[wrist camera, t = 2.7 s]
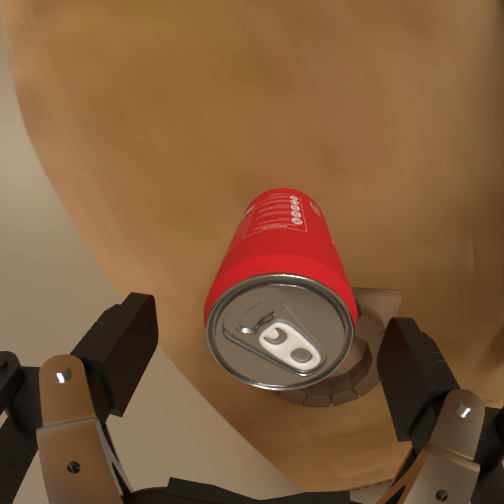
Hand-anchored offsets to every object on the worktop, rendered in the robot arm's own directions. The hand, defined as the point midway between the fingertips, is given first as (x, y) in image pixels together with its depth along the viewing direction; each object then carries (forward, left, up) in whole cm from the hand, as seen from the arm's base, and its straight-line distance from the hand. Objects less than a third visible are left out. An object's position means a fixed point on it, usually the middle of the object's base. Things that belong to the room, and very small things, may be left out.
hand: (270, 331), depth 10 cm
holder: (-5, +9, -11) cm, 15 cm away
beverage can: (0, 0, -12) cm, 12 cm away
